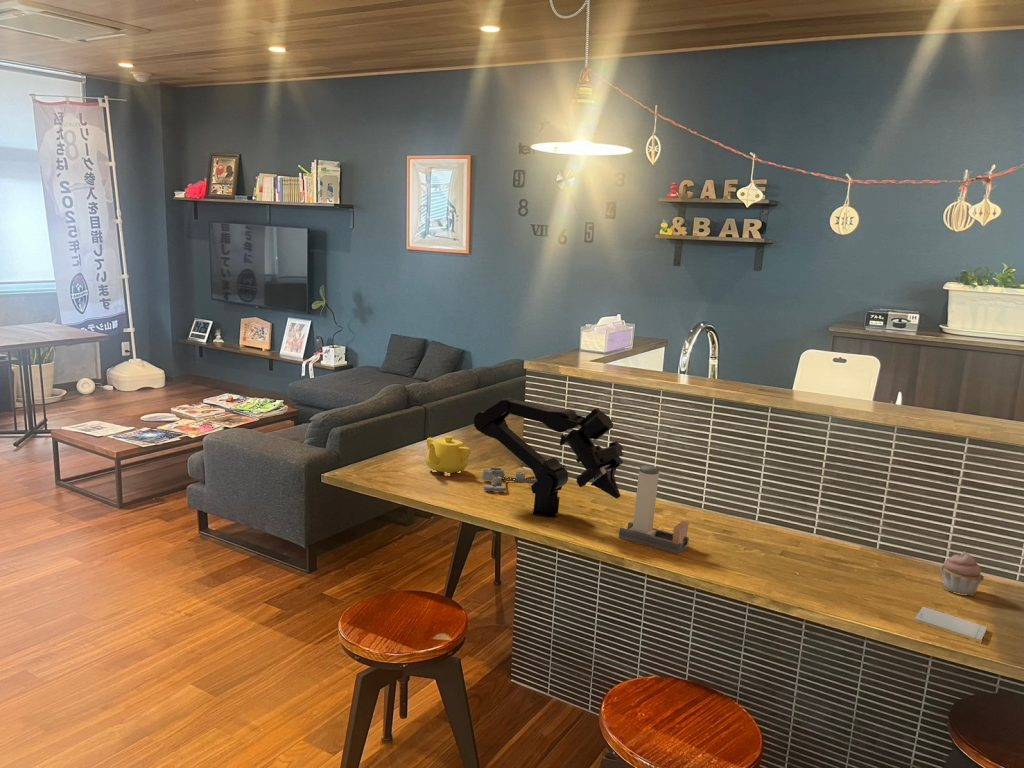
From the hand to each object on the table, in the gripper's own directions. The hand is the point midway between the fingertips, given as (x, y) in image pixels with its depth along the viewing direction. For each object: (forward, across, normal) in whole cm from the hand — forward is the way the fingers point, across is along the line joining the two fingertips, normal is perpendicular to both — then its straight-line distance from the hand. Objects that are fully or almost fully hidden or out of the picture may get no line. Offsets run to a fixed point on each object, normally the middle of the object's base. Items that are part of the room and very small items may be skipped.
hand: (618, 497), depth 199 cm
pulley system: (-25, +17, +39) cm, 49 cm away
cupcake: (+64, +22, -49) cm, 83 cm away
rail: (+14, 0, -1) cm, 14 cm away
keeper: (+11, 0, +1) cm, 11 cm away
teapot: (-40, +11, +52) cm, 67 cm away
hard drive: (+63, -2, -48) cm, 79 cm away
